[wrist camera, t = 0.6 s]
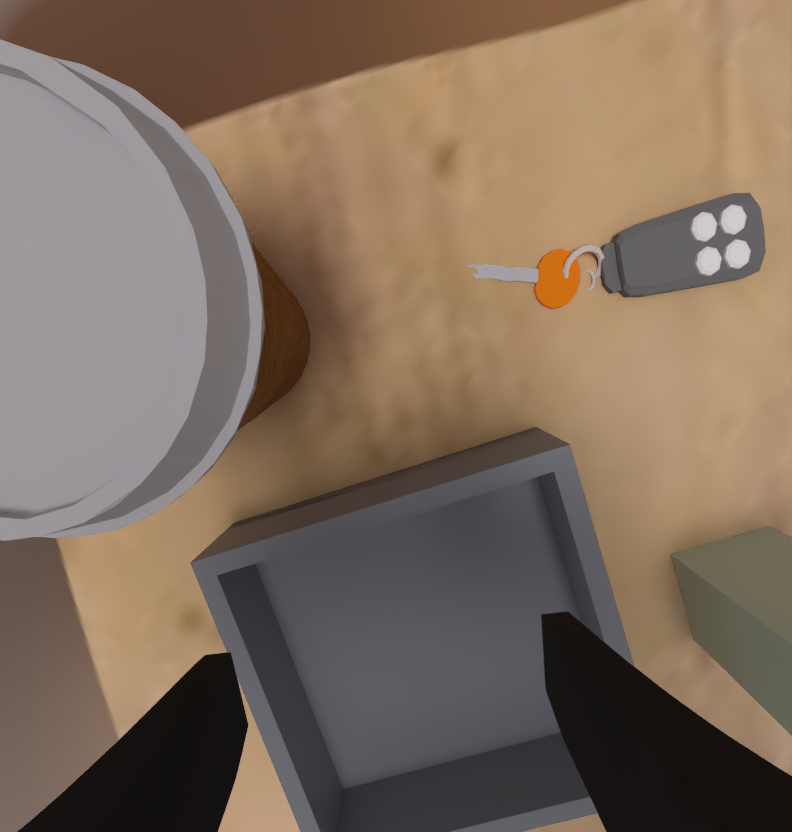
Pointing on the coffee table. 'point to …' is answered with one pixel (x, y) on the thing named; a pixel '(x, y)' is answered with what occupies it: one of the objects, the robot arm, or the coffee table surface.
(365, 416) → the coffee table surface
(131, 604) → the coffee table surface
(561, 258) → the key chain
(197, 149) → the disposable coffee cup
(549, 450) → the tray
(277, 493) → the coffee table surface
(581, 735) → the robot arm
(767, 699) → the block
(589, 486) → the coffee table surface
